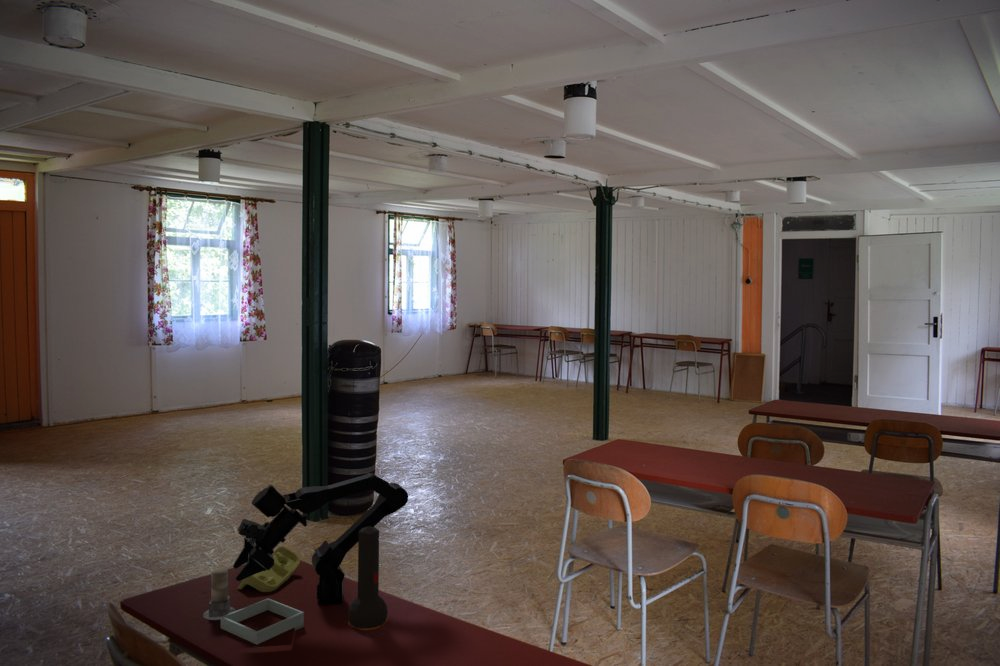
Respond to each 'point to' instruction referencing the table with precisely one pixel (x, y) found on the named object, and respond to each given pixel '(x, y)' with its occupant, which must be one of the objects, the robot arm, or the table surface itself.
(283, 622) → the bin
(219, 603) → the strut
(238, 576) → the robot arm
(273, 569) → the plastic component
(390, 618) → the table surface
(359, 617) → the flashlight
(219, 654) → the table surface
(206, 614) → the stud mount
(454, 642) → the table surface
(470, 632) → the table surface
